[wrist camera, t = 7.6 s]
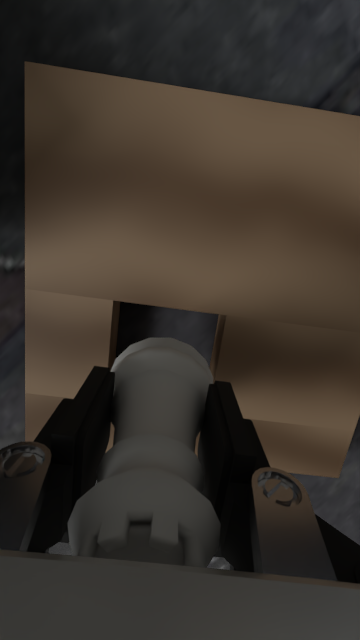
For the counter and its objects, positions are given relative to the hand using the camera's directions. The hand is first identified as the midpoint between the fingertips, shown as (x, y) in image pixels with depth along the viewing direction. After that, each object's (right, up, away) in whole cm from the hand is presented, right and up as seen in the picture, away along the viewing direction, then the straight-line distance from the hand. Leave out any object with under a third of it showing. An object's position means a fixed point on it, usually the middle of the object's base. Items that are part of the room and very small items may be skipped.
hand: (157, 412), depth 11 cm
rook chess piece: (0, +1, +2) cm, 3 cm away
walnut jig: (+2, +4, +6) cm, 8 cm away
